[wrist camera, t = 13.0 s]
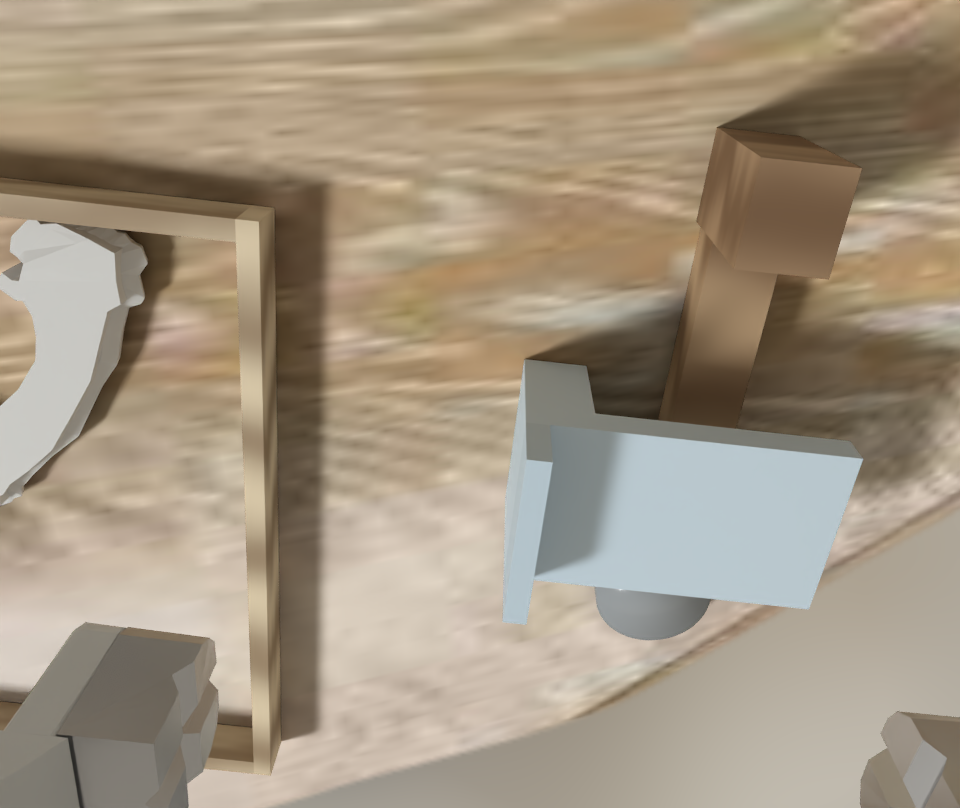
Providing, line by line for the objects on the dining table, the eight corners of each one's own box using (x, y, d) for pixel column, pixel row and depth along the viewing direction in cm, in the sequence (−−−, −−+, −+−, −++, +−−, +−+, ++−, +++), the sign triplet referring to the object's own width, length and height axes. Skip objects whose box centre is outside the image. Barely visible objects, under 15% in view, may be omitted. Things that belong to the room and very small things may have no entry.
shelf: (524, 359, 40) (526, 459, 31) (812, 390, 40) (893, 499, 31) (505, 498, 43) (502, 622, 35) (769, 526, 43) (831, 656, 35)
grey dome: (597, 525, 44) (601, 548, 42) (710, 530, 44) (718, 553, 42) (589, 613, 47) (591, 637, 45) (695, 617, 47) (702, 642, 45)
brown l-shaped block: (717, 127, 34) (761, 157, 28) (799, 136, 35) (862, 168, 28) (641, 471, 42) (663, 555, 36) (709, 478, 42) (742, 563, 36)
